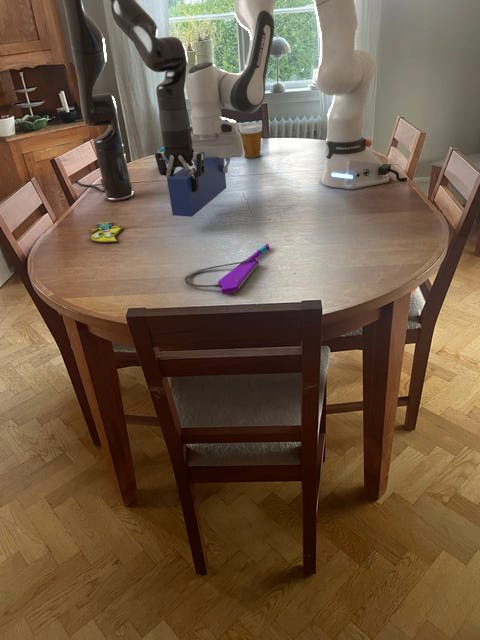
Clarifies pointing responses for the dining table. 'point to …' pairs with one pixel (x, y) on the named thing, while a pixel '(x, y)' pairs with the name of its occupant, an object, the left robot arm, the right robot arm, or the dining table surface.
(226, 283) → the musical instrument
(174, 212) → the box
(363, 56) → the right robot arm
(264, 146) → the dining table surface
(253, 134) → the glass of beer
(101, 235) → the toy
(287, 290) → the dining table surface
